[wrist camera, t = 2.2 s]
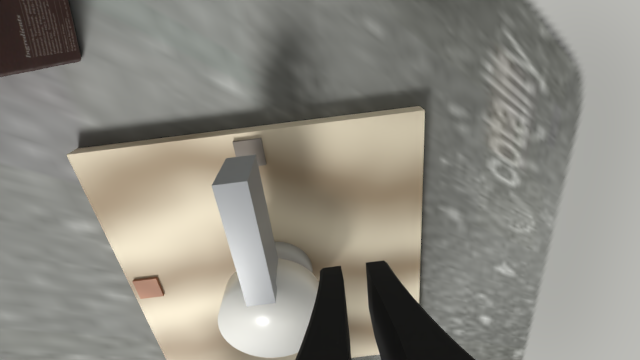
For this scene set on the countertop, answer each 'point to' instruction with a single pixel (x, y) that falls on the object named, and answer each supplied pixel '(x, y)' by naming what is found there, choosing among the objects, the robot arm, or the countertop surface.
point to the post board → (283, 208)
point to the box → (36, 35)
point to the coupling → (259, 270)
